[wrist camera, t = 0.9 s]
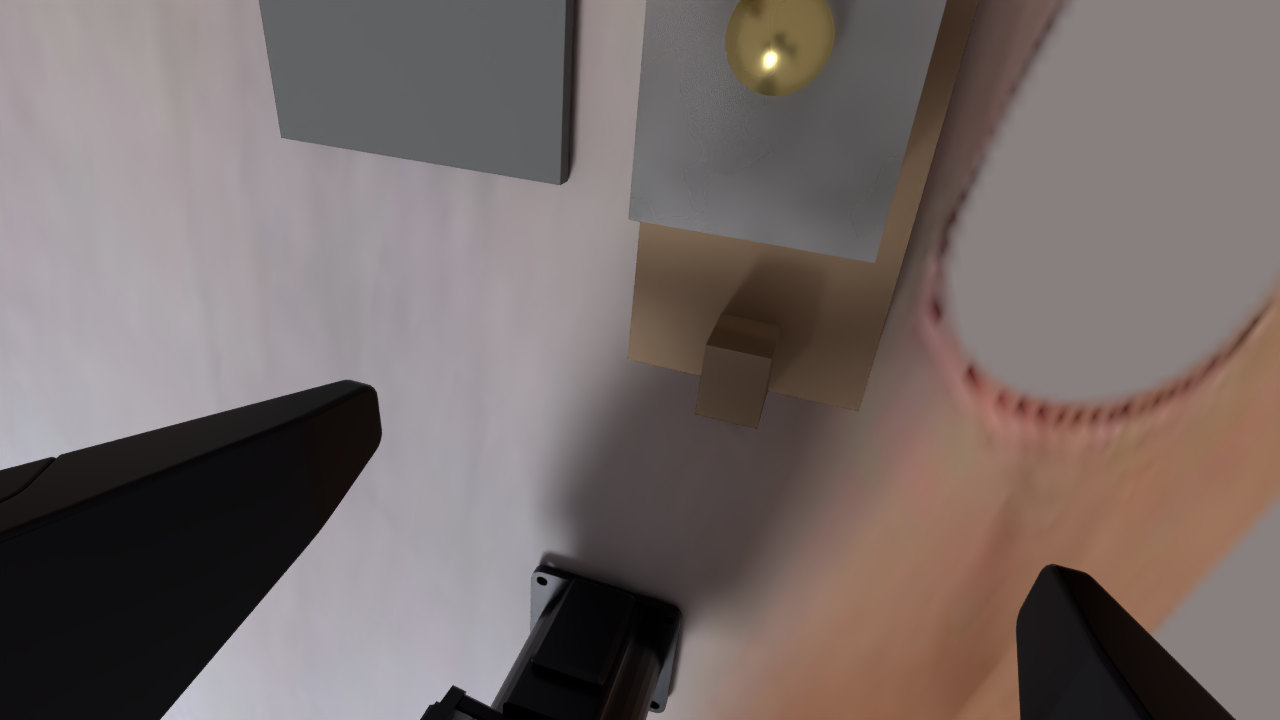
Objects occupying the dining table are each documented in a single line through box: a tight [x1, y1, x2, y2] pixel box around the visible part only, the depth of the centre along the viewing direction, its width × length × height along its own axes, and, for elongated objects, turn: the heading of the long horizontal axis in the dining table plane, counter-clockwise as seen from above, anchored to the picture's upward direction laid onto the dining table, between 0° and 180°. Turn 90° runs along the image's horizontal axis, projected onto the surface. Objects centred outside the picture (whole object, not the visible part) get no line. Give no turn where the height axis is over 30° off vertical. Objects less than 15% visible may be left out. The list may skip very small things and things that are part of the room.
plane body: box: [628, 0, 979, 429], centre depth 15 cm, size 17×7×5 cm, turn 175°
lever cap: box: [629, 0, 947, 263], centre depth 13 cm, size 5×4×5 cm
